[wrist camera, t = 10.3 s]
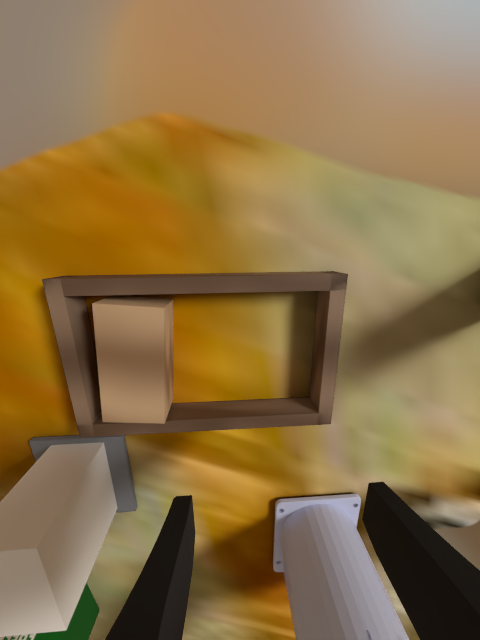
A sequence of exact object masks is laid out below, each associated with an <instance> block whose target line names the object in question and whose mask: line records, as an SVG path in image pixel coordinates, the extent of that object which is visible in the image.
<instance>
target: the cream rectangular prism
mask: <svg viewBox="0 0 480 640" xmlns="http://www.w3.org/2000/svg"><path fill="white" fill-rule="evenodd" d="M116 510H117V503H116V498H115V493H114V488H113V484H112V479H111V474H110V469H109V465H108V460H107V455H106V450H105V446H104V442H99V443H81V444H63V445H51V446H50V447H49V448H48V449H47V450H46V451H45V452H44V454H43V455H42V456H41V457H40V458H39V459H38V460H37V461H36V462H35V464H34V465H33V466H32V467H31V468H30V469H29V470H28V471H27V473H26V474H25V475H24V476H23V477H22V478H21V479H20V480H19V481H18V483H17V484H16V485H15V486H14V487H13V488H12V489H11V490H10V492H9V493H8V494H7V495H6V496H5V497H4V498H3V499H2V500H1V502H0V637H5V636H15V635H25V634H36V633H46V632H56V631H66V630H67V628H68V625H69V623H70V620H71V618H72V616H73V613H74V611H75V609H76V606H77V604H78V601H79V599H80V597H81V594H82V592H83V589H84V587H85V585H86V582H87V580H88V577H89V575H90V573H91V570H92V568H93V565H94V563H95V561H96V558H97V556H98V553H99V551H100V549H101V546H102V544H103V541H104V539H105V537H106V534H107V532H108V529H109V527H110V525H111V522H112V520H113V517H114V515H115V513H116Z"/></svg>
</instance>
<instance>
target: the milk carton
mask: <svg viewBox="0 0 480 640" xmlns="http://www.w3.org/2000/svg"><path fill="white" fill-rule="evenodd" d="M98 613H99V608H98V606H97V604H96V602H95V600H94V598H93V596H92V593H91V591H90V589H89V587H88V585H87V583H86V585H85V587H84V589H83V592H82V594H81V597H80V599H79V601H78V604H77V606H76V609H75V611H74V613H73V616H72V618H71V620H70V623H69V625H68V628H67V630H66V631H56V632H46V633H36V634H25V635H15V636H5V637H0V640H88V639H89V636H90V634H91V631H92V628H93V626H94V623H95V620H96V618H97V615H98Z"/></svg>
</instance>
